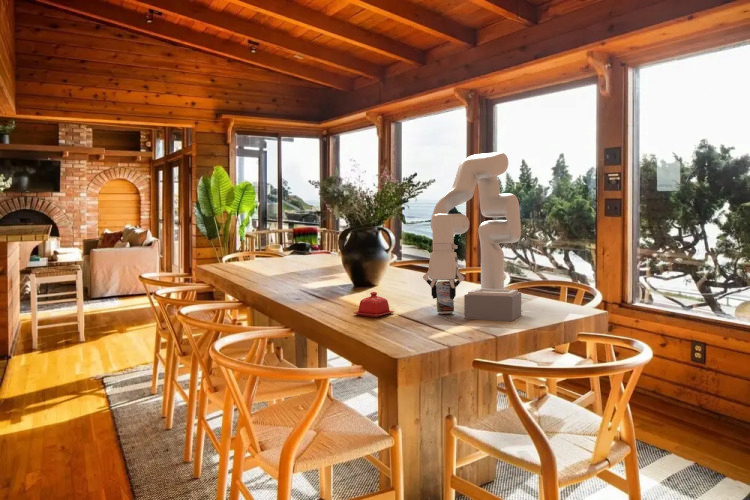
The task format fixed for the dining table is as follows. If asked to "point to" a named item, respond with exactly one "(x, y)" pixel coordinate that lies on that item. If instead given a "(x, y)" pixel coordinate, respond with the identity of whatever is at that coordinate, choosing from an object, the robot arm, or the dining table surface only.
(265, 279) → the dining table surface
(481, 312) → the stand
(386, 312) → the butter dish
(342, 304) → the dining table surface
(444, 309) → the beverage can
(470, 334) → the dining table surface
